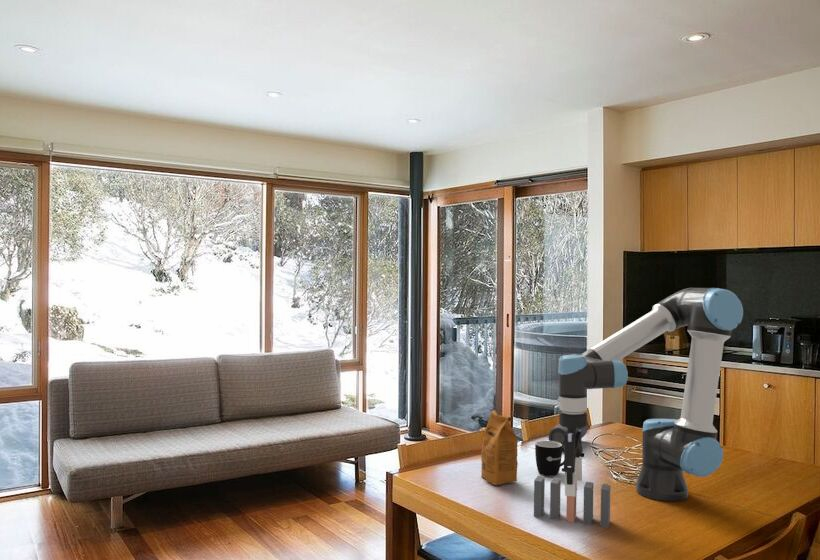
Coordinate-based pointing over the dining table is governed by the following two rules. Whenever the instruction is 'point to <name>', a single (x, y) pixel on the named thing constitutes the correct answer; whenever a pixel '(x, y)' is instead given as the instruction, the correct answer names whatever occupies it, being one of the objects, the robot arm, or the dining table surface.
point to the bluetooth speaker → (562, 434)
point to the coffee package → (499, 451)
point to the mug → (548, 457)
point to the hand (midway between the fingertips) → (573, 487)
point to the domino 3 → (571, 507)
